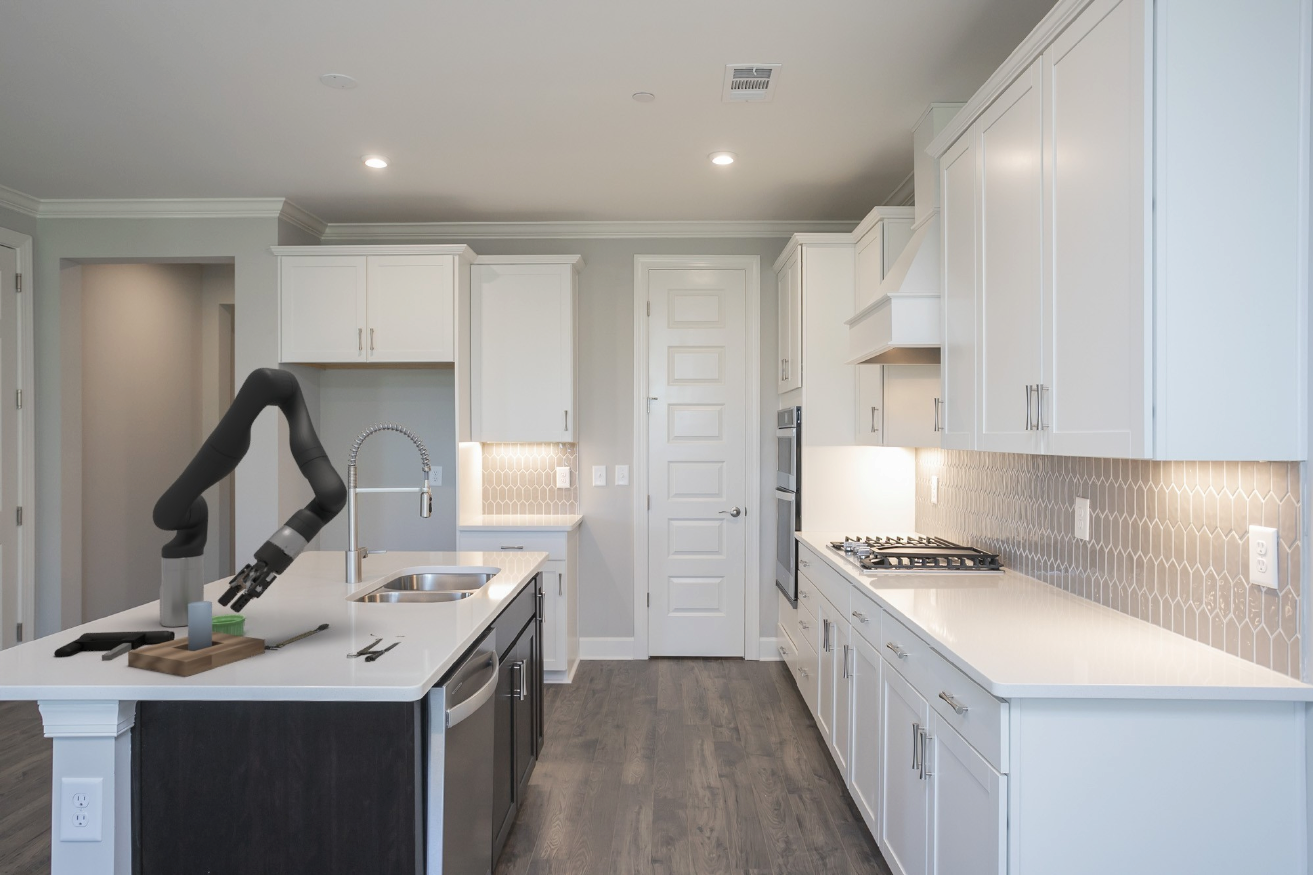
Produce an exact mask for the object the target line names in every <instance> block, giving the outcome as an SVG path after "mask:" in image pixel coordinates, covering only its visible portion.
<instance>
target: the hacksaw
mask: <svg viewBox="0 0 1313 875" xmlns="http://www.w3.org/2000/svg"><path fill="white" fill-rule="evenodd" d="M370 636H371V637H378V636H376V635H373V633H371V634H370ZM396 637H397V638H398V637H401V638H402V637H403V638H404V637H405V635H402V636H401V635H400V636H399V635H398V636H396ZM382 641H383V638H376V639H375V641H373V643H371V644H369V645H367V646H365V647H364V648H362V649H360V650H359V651H357V652H356V654H353V655H350V654H352V652H351V653H348V654H346V656H347V657H358V656H363V655H367V656H365V657H364V661H365V662H374V661H376V659H378V658H380V656H382V655H384V654H385V653H386V652H388V651H389V650H390V649H393V648H394V647H396V646H397V645H399V644H401V643H402V641H399V642H394V643H392V644H390V645H389V646H388V647H386V648H384V649H381V650H371V649H372V648H374V647H375V646H377V645H378V644H379V643H380V642H382Z"/></svg>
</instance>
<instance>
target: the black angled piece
mask: <svg viewBox="0 0 1313 875" xmlns="http://www.w3.org/2000/svg"><path fill="white" fill-rule="evenodd" d="M175 634H176V633H175V631H174V630H173V631H170V630H148V631H145V630H142V631H141V630H138V631H111V632H109V631H108V632H106V631H105V632H104V631H103V632H86V633H82V634H81V635H80V636H79V638H76V639H75V640H73V641H70V642H68V643H66V644H65V645H63V646H61V647H59V648H56V649H55V650H54V653H53V655H54V656H55V658H67V657H72V656H73V655H76V654H78V653H79V652H81V653H83V652H105V653H103V654H102V655H101V661H112V660H114V659H116V658H119V657H120V656H122V655H124V654H126V653H127V654H128V652H129V651H132V650H136V649H140V648H143V647H144V646H146V645H156V644H160V643H164V642H168V641H172V640H175V638H176V637H175Z"/></svg>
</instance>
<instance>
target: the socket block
mask: <svg viewBox="0 0 1313 875" xmlns="http://www.w3.org/2000/svg"><path fill="white" fill-rule="evenodd" d="M265 640H266V639H264V638H258V637H251V636H244V635H242V636H238V635H232V634H225V633H218V632H212V647H208V648H204V649H201V650H197V651H188V636H185V637H181V638H177V639H174V640H172V641H168V642H164V643H160V644H151V645H148V646H145V647H144V646H143V647H140V648H138V649H135V650H131V651H129V652H127V655H128V658H127V666H128V667H132V668H137V669H143V670H148V671H149V670H150V671H153V672H159V673H165V674H169V675H175V676H180V677H190V676H192V675H196V674H200V673H203V672H207V671H209V670H213V669H215V668H218V667H222V666H225V665H228V664H232V663H235V662H240V661H243V660H247V659H248V658H249V659H250V658H252V657H255V656H259V655H262V654H265V651H266V649H265V646H266V644H265V642H266V641H265Z"/></svg>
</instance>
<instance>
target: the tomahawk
mask: <svg viewBox="0 0 1313 875" xmlns="http://www.w3.org/2000/svg"><path fill="white" fill-rule="evenodd" d="M329 627H330V624H329V623H323V624H320V625H319V626H318V627H317V628H316V629H314V630H309V631H306V632H304V633H301V634H298V635H297V636H294V637H292V638H289V639H287V640H284V641H282V642H279V643H277V644H276V645H274V646H269V645H265V650H269V651H279V649H282V648H283V647H285V646H286V645H288V644H291V643H294V642H296V641H298V640H301V639H303V638H304V639H305V638H307V637H309V636H312V635H313V634H317V633H319V632H321V631H324V630H325V629H326V628H329Z"/></svg>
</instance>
